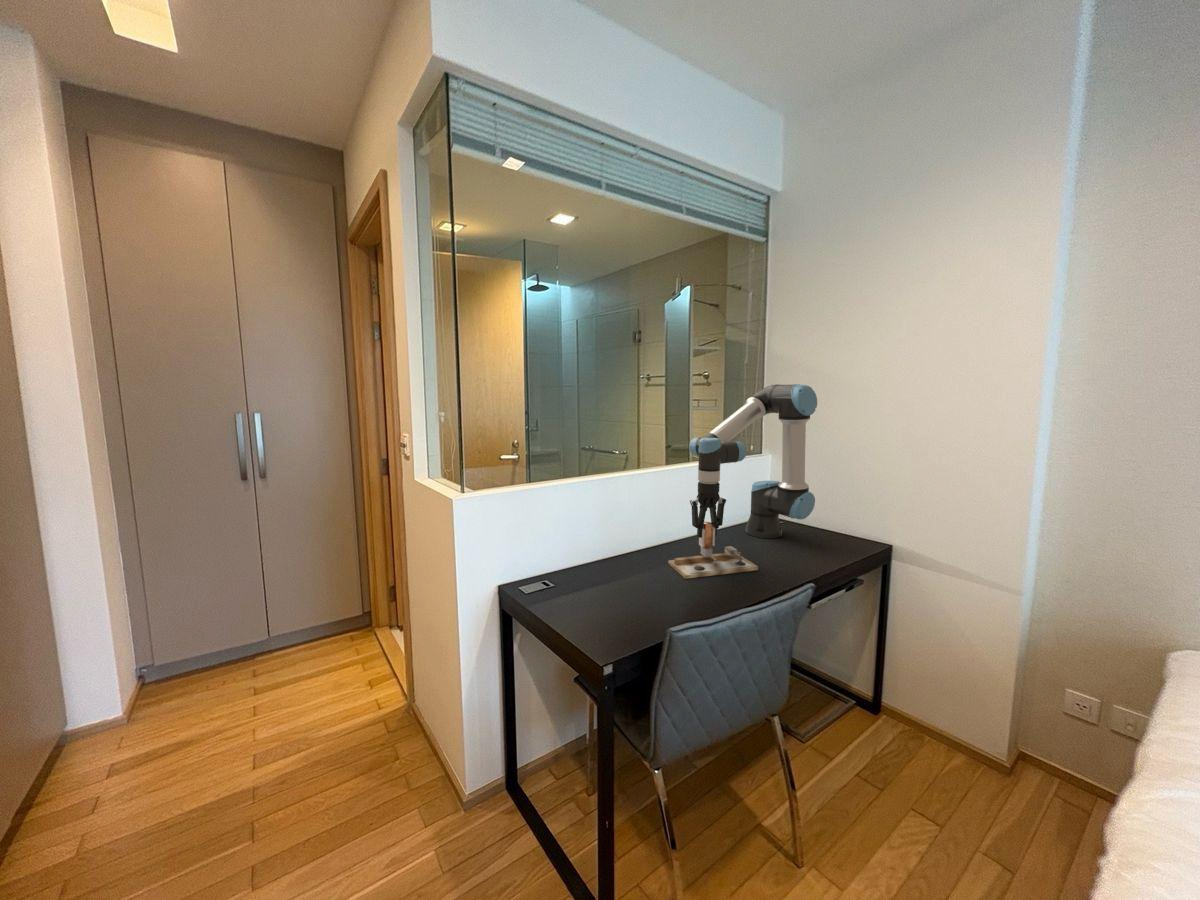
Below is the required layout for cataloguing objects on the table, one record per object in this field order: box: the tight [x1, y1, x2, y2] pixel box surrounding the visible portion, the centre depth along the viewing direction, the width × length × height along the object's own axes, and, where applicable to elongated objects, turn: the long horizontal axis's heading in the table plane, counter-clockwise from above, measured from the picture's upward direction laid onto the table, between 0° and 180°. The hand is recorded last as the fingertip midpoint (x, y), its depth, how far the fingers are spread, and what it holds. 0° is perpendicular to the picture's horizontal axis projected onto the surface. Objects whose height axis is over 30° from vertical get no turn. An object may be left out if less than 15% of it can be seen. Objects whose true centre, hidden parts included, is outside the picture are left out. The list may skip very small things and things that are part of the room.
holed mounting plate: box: [667, 545, 759, 580], centre depth 170 cm, size 28×14×5 cm, turn 106°
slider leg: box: [700, 521, 717, 566], centre depth 169 cm, size 3×9×13 cm, turn 16°
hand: (706, 545), depth 172 cm, fingers closed on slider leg, 3 cm apart
